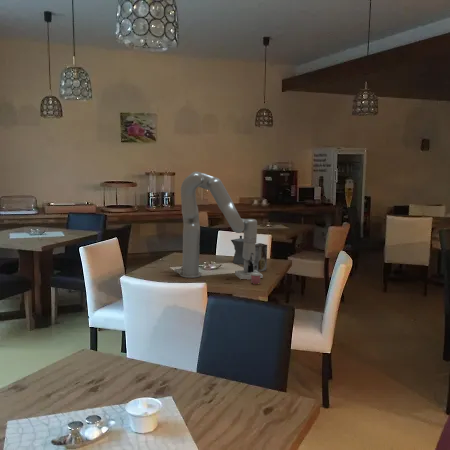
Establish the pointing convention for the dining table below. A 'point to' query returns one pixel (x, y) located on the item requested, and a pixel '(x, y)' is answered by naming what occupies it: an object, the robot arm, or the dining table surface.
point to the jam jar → (255, 277)
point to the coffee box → (260, 257)
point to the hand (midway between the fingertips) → (248, 270)
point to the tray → (245, 274)
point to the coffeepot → (238, 250)
